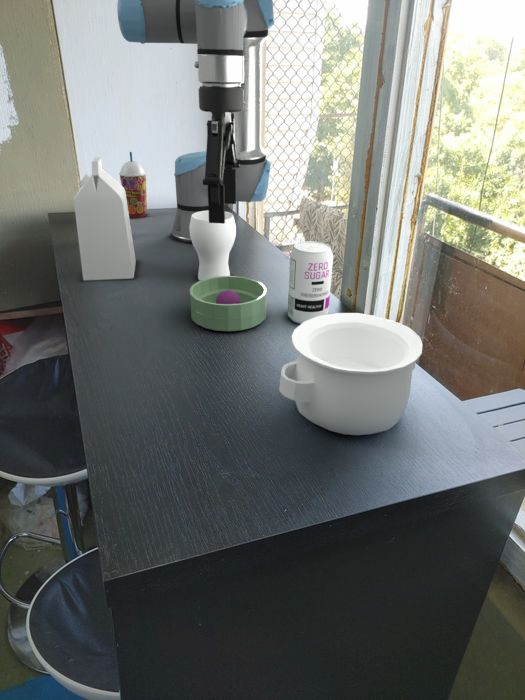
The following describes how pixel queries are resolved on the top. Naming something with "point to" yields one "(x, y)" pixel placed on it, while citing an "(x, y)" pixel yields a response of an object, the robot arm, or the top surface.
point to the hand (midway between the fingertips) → (223, 212)
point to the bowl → (228, 314)
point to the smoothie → (134, 188)
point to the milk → (103, 227)
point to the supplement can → (309, 280)
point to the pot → (351, 371)
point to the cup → (212, 243)
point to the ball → (228, 298)
